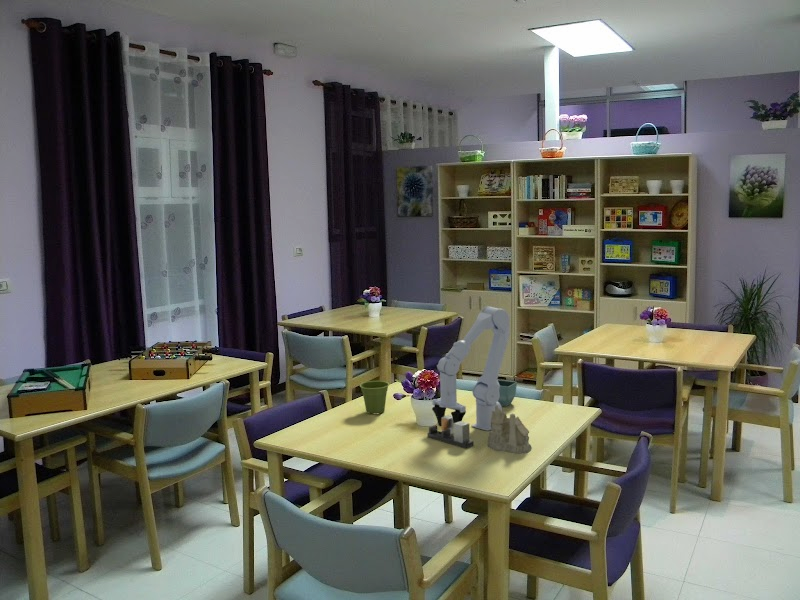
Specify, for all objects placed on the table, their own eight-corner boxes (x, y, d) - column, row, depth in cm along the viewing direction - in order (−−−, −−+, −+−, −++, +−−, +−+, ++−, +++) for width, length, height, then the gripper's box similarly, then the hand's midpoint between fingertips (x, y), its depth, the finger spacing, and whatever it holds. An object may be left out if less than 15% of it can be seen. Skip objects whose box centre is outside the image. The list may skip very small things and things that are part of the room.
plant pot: (356, 410, 288) (355, 383, 287) (382, 406, 293) (382, 379, 292) (367, 417, 278) (366, 389, 276) (394, 413, 283) (394, 385, 281)
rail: (427, 436, 253) (427, 416, 252) (435, 434, 256) (435, 413, 255) (465, 448, 240) (465, 426, 239) (473, 445, 242) (473, 424, 241)
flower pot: (517, 403, 293) (517, 381, 291) (508, 408, 285) (508, 386, 284) (497, 400, 297) (497, 379, 296) (488, 405, 290) (488, 384, 289)
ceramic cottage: (520, 456, 231) (520, 410, 230) (478, 447, 242) (477, 404, 241) (544, 446, 243) (544, 402, 242) (503, 438, 254) (502, 396, 253)
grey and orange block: (456, 432, 257) (456, 416, 256) (448, 435, 254) (448, 419, 253) (449, 430, 259) (449, 414, 259) (441, 433, 256) (440, 417, 256)
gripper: (426, 389, 257) (426, 426, 259) (455, 396, 247) (456, 434, 248) (439, 386, 262) (440, 421, 264) (469, 392, 251) (469, 430, 253)
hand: (449, 428), depth 256 cm, fingers open, 7 cm apart
